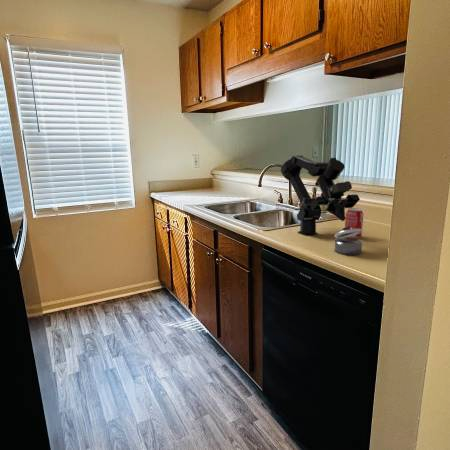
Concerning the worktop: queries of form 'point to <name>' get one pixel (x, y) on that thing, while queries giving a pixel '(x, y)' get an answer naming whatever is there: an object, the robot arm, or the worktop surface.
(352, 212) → the soda can
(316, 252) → the worktop surface
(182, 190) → the worktop surface
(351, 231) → the cooker lid
